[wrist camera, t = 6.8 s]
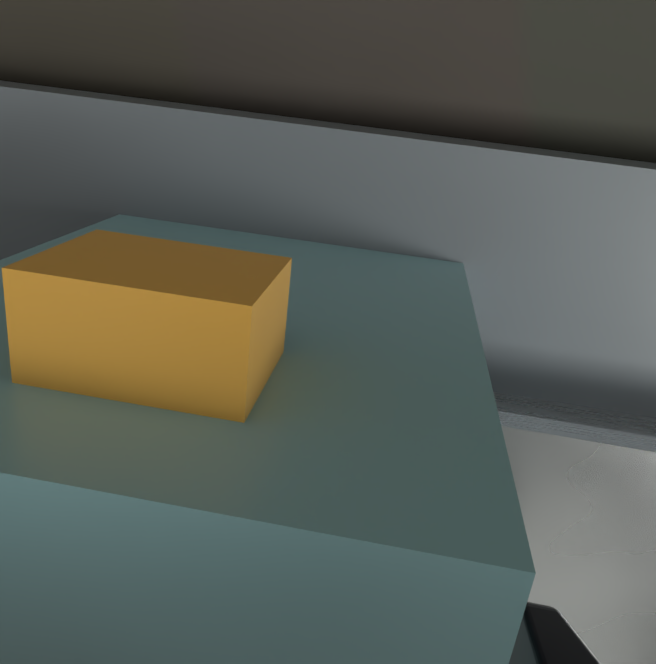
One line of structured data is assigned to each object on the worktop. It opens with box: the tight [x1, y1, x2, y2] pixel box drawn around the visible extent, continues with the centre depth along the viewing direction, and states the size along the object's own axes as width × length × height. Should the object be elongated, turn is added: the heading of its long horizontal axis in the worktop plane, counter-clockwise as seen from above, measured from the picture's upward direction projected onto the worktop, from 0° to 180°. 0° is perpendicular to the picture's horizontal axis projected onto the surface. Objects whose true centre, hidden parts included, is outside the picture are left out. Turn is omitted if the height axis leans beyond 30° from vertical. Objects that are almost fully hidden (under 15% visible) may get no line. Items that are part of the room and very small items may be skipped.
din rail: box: [493, 392, 656, 664], centre depth 9 cm, size 19×4×2 cm, turn 84°
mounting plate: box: [0, 80, 656, 418], centre depth 11 cm, size 20×10×2 cm, turn 84°
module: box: [0, 214, 536, 664], centre depth 7 cm, size 5×8×6 cm, turn 174°
